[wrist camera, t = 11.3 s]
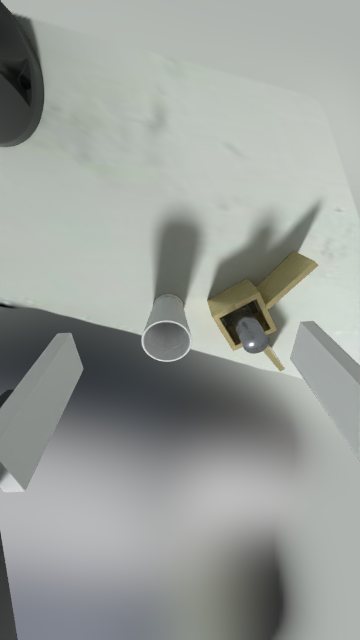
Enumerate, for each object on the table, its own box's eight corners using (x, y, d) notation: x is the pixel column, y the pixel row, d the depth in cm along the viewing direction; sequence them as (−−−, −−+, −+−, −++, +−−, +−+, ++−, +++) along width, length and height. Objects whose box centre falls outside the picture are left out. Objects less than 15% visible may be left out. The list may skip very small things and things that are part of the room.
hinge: (206, 299, 45) (211, 315, 39) (295, 250, 41) (316, 260, 35) (244, 361, 54) (252, 382, 48) (321, 325, 49) (342, 344, 43)
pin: (223, 303, 46) (238, 339, 35) (241, 294, 45) (263, 328, 34) (231, 318, 48) (249, 357, 36) (248, 309, 47) (272, 346, 36)
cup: (190, 321, 48) (195, 357, 38) (154, 327, 49) (148, 364, 38) (184, 286, 44) (187, 316, 34) (144, 294, 45) (135, 325, 34)
